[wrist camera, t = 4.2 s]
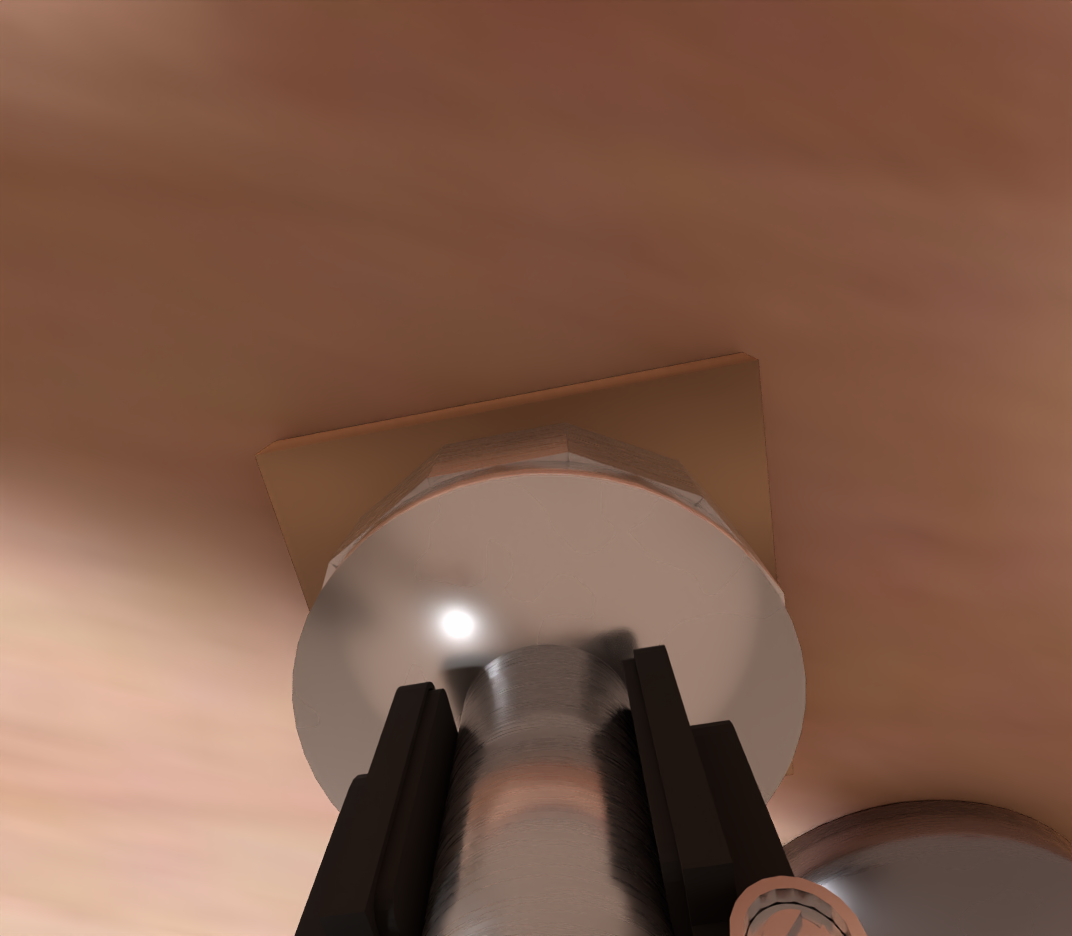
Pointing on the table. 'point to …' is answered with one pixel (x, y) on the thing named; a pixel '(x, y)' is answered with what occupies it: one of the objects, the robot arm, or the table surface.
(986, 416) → the table surface
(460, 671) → the metal knob with peg
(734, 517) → the stand
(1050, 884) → the metal pot lid
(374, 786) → the robot arm
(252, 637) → the table surface
